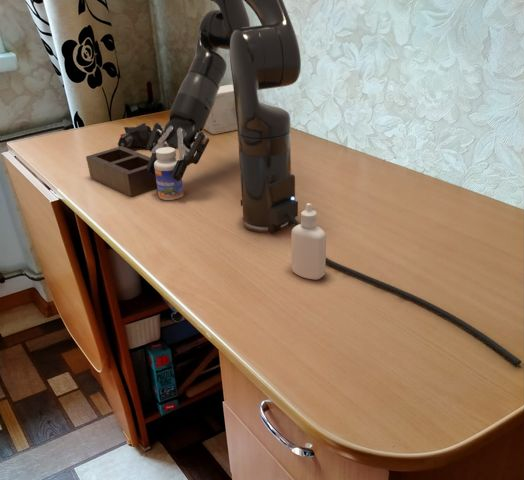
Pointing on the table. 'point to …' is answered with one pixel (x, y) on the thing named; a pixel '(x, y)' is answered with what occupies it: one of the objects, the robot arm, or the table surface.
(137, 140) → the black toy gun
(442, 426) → the table surface
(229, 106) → the cosmetics box
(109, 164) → the rack
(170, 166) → the pill bottle
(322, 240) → the eye dropper bottle
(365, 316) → the table surface
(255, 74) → the robot arm
